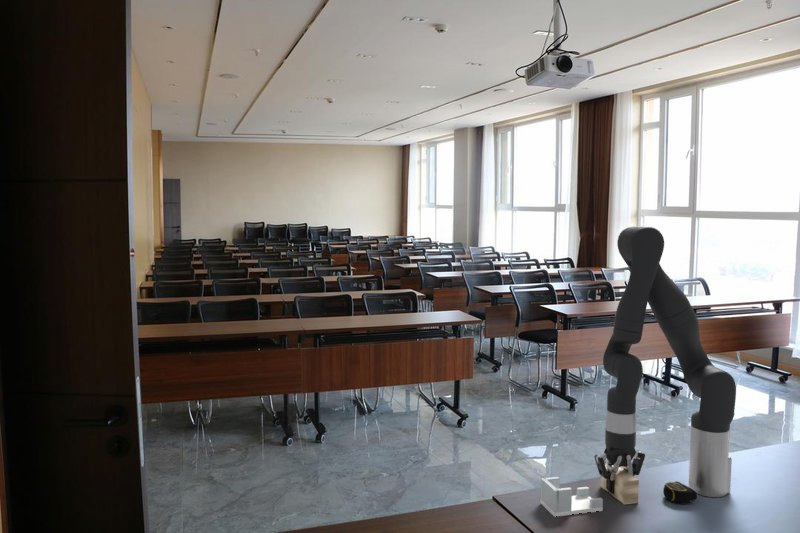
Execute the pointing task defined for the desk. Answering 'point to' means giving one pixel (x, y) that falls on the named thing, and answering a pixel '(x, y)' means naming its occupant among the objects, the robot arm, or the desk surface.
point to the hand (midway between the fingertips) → (618, 491)
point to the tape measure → (679, 492)
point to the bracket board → (567, 499)
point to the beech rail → (624, 487)
